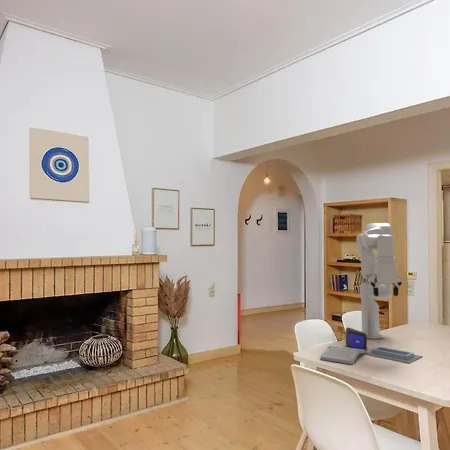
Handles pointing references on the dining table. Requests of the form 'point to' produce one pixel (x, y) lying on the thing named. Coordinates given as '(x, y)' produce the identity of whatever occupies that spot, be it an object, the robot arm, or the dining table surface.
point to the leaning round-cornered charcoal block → (356, 339)
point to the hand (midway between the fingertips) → (385, 295)
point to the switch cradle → (393, 354)
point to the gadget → (341, 354)
